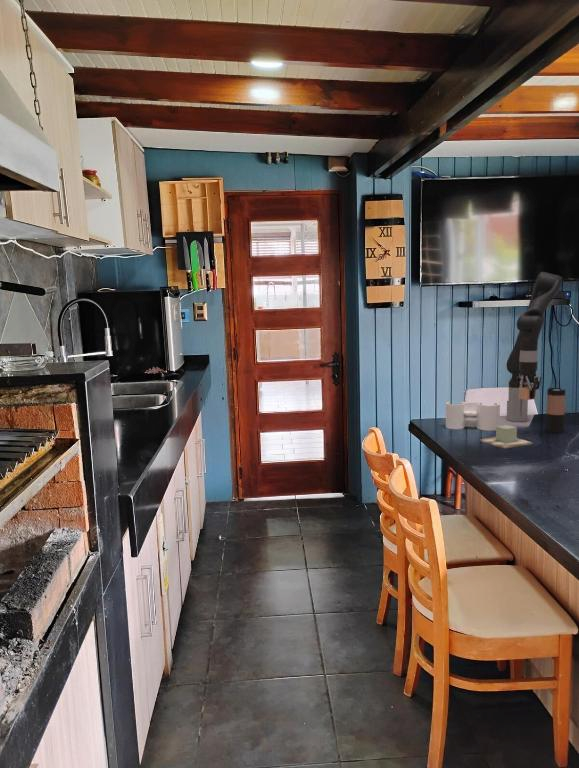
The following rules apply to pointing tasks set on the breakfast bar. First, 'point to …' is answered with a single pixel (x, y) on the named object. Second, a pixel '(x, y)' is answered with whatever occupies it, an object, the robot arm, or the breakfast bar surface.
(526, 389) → the terracotta block
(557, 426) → the travel mug
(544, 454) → the breakfast bar surface
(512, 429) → the sage block
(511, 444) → the board
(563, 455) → the breakfast bar surface
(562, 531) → the breakfast bar surface
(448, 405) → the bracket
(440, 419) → the breakfast bar surface
